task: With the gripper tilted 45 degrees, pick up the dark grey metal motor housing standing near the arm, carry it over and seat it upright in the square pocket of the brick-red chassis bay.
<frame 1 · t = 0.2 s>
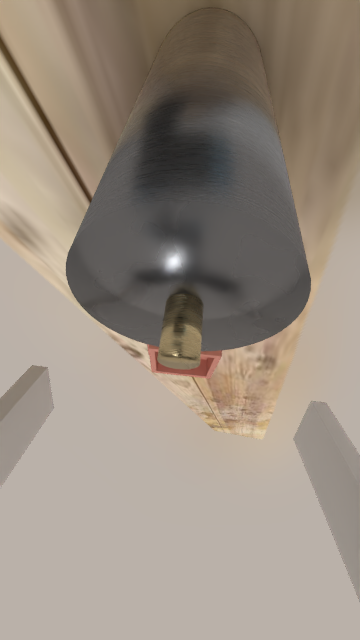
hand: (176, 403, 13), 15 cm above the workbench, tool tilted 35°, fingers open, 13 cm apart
chassis bay: (185, 340, 40), on the workbench
motor housing: (206, 94, 14), on the workbench
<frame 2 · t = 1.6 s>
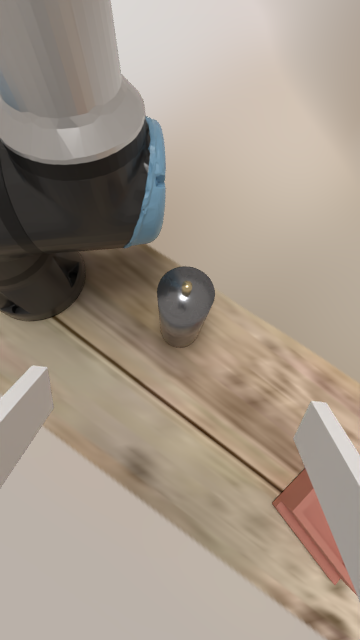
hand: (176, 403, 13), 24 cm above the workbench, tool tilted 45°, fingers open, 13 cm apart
chassis bay: (330, 504, 33), on the workbench
motor housing: (179, 328, 39), on the workbench
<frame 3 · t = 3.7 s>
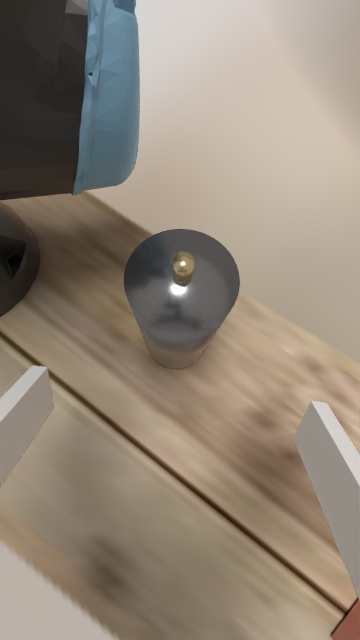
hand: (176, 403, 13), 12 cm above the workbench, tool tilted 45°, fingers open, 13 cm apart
motor housing: (176, 340, 26), on the workbench
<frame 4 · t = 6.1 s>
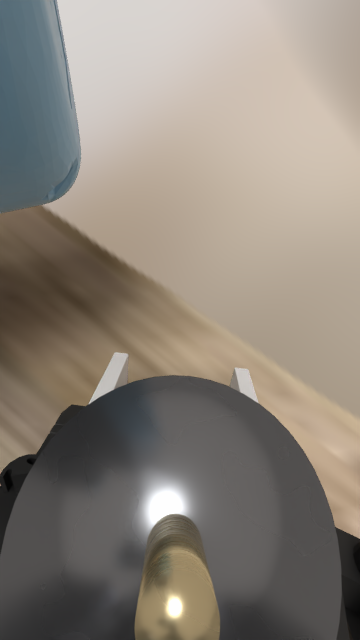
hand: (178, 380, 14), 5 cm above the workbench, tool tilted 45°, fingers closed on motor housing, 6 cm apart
motor housing: (169, 437, 18), on the workbench, touching gripper
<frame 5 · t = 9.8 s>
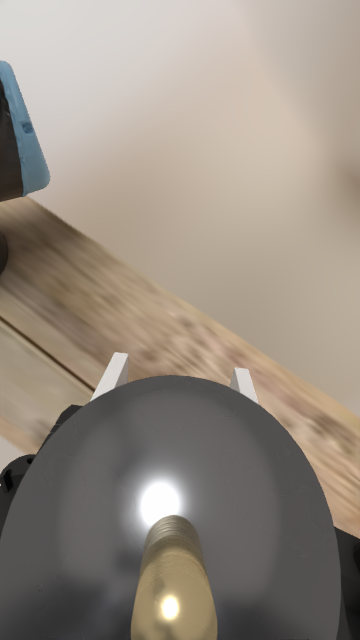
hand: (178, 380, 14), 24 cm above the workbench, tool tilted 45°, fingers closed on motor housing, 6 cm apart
motor housing: (169, 437, 18), point 19 cm above the workbench, touching gripper
when the fingers open (7 cm above the workbench, at t = 13.4 s): motor housing drops 1 cm, resting on chassis bay.
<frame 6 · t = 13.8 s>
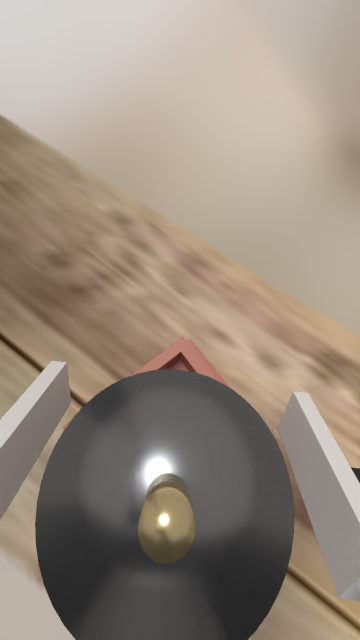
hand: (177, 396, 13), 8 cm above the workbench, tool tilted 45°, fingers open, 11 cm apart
chassis bay: (169, 433, 20), on the workbench
motor housing: (169, 436, 19), point 1 cm above the workbench, touching chassis bay
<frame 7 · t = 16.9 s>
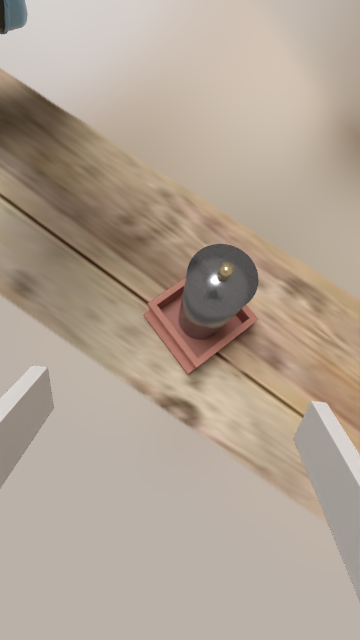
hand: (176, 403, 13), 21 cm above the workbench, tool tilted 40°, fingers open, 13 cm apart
chassis bay: (199, 319, 36), on the workbench
motor housing: (200, 318, 34), point 1 cm above the workbench, touching chassis bay
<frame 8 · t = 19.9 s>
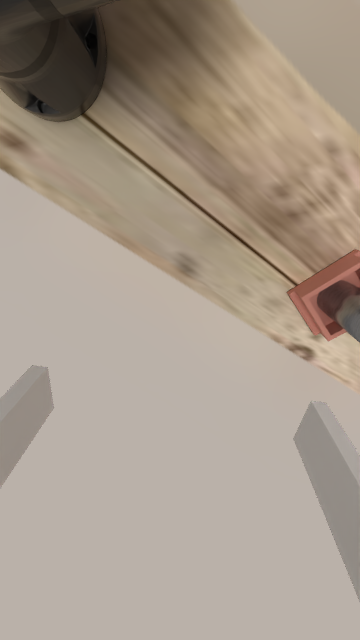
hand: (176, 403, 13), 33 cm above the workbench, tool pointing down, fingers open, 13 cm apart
chassis bay: (332, 294, 43), on the workbench
motor housing: (335, 297, 42), point 1 cm above the workbench, touching chassis bay
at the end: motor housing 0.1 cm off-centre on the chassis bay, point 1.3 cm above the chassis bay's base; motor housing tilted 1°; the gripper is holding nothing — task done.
